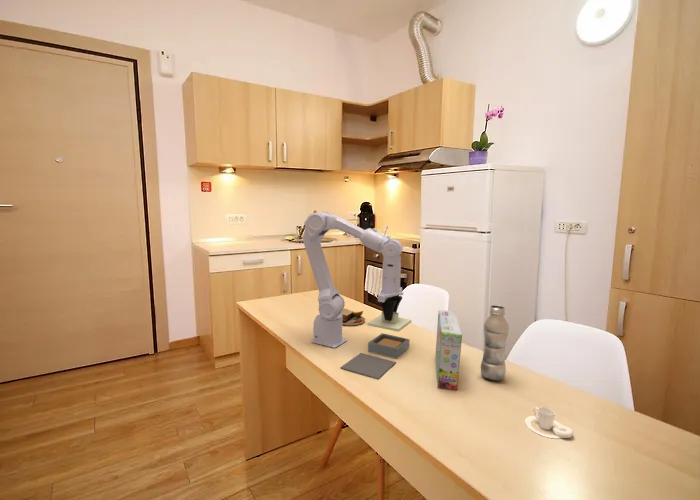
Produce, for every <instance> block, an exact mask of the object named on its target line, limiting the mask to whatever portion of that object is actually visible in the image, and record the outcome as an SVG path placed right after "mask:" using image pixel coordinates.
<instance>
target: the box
mask: <svg viewBox="0 0 700 500" xmlns="http://www.w3.org/2000/svg"><path fill="white" fill-rule="evenodd" d="M409 349H410V338H405V337H400V336H396V335H393V334H389V333H380V334H379V335H377V336H375V337H374V338H373V339H372V340H371V339H370V341H368V342H367V352H369V353H372V354H377V355H382V356H385V357H389V358H393V359H397V360H398V358H400V357H401V356H402V355H403V354H404V353H405V352H406V351H407V350H409Z"/></svg>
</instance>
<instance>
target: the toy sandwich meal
mask: <svg viewBox="0 0 700 500" xmlns="http://www.w3.org/2000/svg"><path fill="white" fill-rule="evenodd" d="M341 313H342V315H343V319H342V326H344V325H345V326H344V327H354V326H360V325H362V324H363V323H365V320H366V318H365V317H364V316H362V315H363V314H364V310H361V311H353V310H350V309H348V308H343V310H341Z"/></svg>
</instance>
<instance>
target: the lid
mask: <svg viewBox="0 0 700 500" xmlns="http://www.w3.org/2000/svg"><path fill="white" fill-rule="evenodd" d="M399 314H400V313H399V312H393V317H392V320H391V321H388V320H385V318H384V313H383V310H382V311H381V315H378V316H377V317H375V318H374V319H371V320H369V321H368V322H367V326H368V327H374V328H379V329H384V330H389V331H393V332H397V333H399V332H400V331H402V330H403V329H404V328H405V327H407V326H409V325H410V324H411V323H412V319H409V318H403V317H399Z"/></svg>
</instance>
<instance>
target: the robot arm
mask: <svg viewBox="0 0 700 500" xmlns="http://www.w3.org/2000/svg"><path fill="white" fill-rule="evenodd" d="M330 230H338V231H341V232H343V233H346V234H347V235H350V236H352V237H355V238H356V239H359V240H360V242H361V245H363V246H365V247H366V248H368V249H371V250H372V251H374V252H376V253H378V254H379V253H381V255H382V256H383V258H382V259H383V260H382V273H381V275H382V277H381V279H382V280H381V290H380V292H379V294H378V296H377V302H379V304H380V306H381V309H382V311H383V313H384V318H385V320H388V321H391V320H392V317H393V312H397V311H398V308H399V305H400V303H401V301H402V300H403V295H404V292H403V286H402V287H401V276H402V275H401V274H402V262H401V261H402V257H401V254H402V252H403V244H402V243H401V241H399V240H398V238H394V237H393V238H391V236H390V235H389V234H388V235H386V234H383V233H381V232H379V231H378V229H377V228H375V227H374V228H371V227H369V228H366V229H364V228H362V227H360V226H357V225H356V224H353V223H352V222H350V221H349V220H346V219H344V218H342V217H340V216H338V215H336V214H331V213H330V212H328V211H323V212H316V211H315V212H312V213H310V214H309V215H308V216H307V217H306V219H305V221H304V233H303V238H302V240H303V241H302V242H303V246H304V248H305V252H306V255H307V258H308V261H309V265H310V267H311V270H312V274H313V277H314V280H315V282H316V286H317V289H318V296H317V302H318V312H319V313H318V315H316V316H315V317H314V320H313V324H312V325H313V328H312V329H313V330H312V332H313V333H312V334H313V335H312V336H313V339H312V340H311V342H312V343H314V344H318V345H321V346H325V347H329V348H333V349H336V348H338V347H339V346H341V345H343V344H345V342H347V341H348V339H347V338H344V337H343V325H342V319H343V315H342V313H341V310H343V309H345V302H346V301H345V300H344V297H342V296H341V294H340V291H339V290H338V289H337V288H336V286H335V284H334V282H333V279H332V278H333V277H332V275H331V273H330V269H329V266H328V262H327V260H326V257H325V254H324V250H323V247H322V244H321V241H322V239H323V238H324V236H325V235H326V234H327V232H329V231H330ZM397 313H398V312H397Z"/></svg>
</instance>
